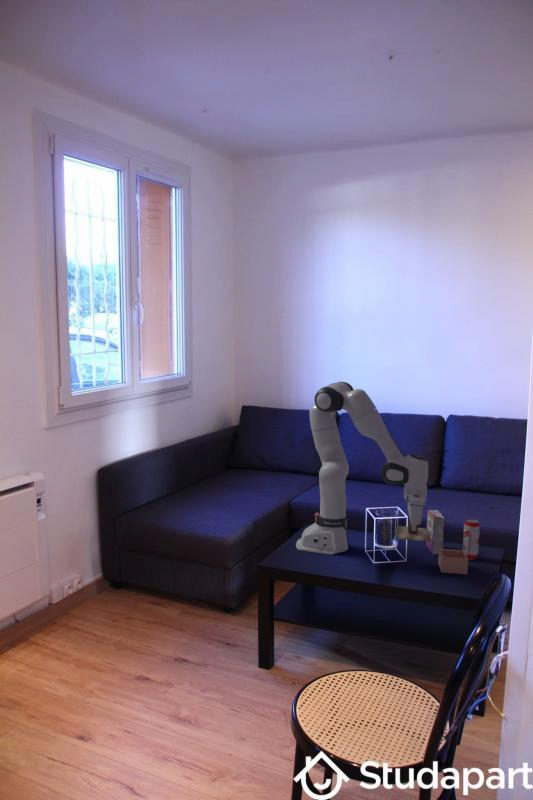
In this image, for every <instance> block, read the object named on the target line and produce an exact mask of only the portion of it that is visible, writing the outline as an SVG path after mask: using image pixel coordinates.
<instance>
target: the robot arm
mask: <svg viewBox="0 0 533 800" xmlns="http://www.w3.org/2000/svg"><path fill="white" fill-rule="evenodd" d="M341 410H344V411H346V412H347V413H348V415H349V418H350V419H351V421H352V423H353V425H354V426H355V428H356V429H357V431H358V432H359V433H360V434H361V435H362V436H364V437H366V438H370V439H371V440H373V441H375V442H376V443H377V445H378V446H379V448H380V449H381V451H382V453H383V454H384V456H385V458H386V460H387V462H386V463H385V464H384V465H383V466H382V468H381V471H380V473H381V475H380V476H381V477H382V480H383V481H384V482H385V483H387V484H388V485H393V486H394V485H395V486H396V485H398V486H401V485H403V486H404V489H403V499H404V500H406V503H407V513H408V516H409V521H411V530H412V531H416V525H417V524H418V526H419V525H421V523H422V519H423V518H422V517H423V512H424V511H423V510H424V506H425V505H426V501H427V496H428V495H427V493H428V486H427V482H428V479H429V462H428V459H427V458H426V457H425V456H423V455H421V454H417V453H410V454H408V455H405V454H404V453H402V451H401V450H400V449H399V447H398V445H397V443H396V442H395V440H394V438H393V437H392V435H391V433H390V432H389V430H388V429H387V427H386V424H385V423H384V421H383V419H382V417H381V415H380V413H379V411H378V409H377V406H376V405H375V403H374V402H373V401H372V399H371V397H370V396H369V395H368V394H367V392H366V391H365V390H363V389H361V388H360V389H359V388H356V389H354V387H353V386H352V384H350V383H348V382H345V381H337V382H332V383H330V384H328V385H326V386H324V387H321V388H320V389H318V390H317V391H316V393H315V395H314V404H312V405H311V406H310V408H309V424H310V428H311V433H312V438H313V442H314V447H315V450H316V451H317V454H318V456H319V458H320V462H321V467H320V469H319V472H318V478H319V479H318V481H319V494H320V495H319V496H320V497H319V499H320V505H319V512H315V514H314V523H312V524H310V525H309V526H307V527H306V528H305V529H304V530H303V532H302V534H301V538H298V539H297V541H296V542H295V548H296V549H297V550H298V551H304V552H310V553H318V554H324V555H331V556H333V555H335V554H338V553H342V552H343V553H344V552H346V551H347V550H349V546H348V541H347V535H346V534H347V533H346V532H347V531H346V529H347V525H348V524H347V522H348V519H347V514H346V511H347V495H346V479H347V476H348V475H349V473H350V465H349V463H348V459H347V456H346V454H345V450H344V447H343V445H342V441H341V437H340V432H339V427H338V424H337V421H336V412H339V411H340V412H341Z"/></svg>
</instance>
